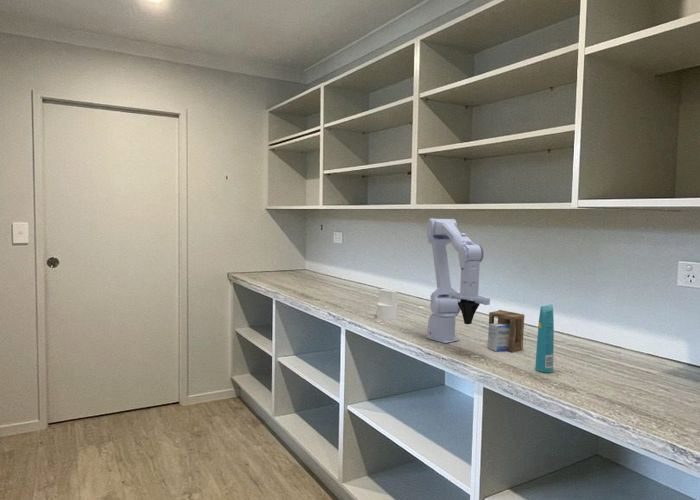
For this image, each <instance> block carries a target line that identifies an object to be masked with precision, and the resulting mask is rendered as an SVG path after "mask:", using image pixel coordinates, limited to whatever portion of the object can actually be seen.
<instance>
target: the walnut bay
mask: <svg viewBox="0 0 700 500" xmlns="http://www.w3.org/2000/svg"><path fill="white" fill-rule="evenodd" d="M495 317H496V318H497V323H510V336H509V350H508V352H509V353H515V352H519V351H522V350H524V331H525V330H524V329H525V314H524V313H518V312H513V311H507V310H503V309H498V310H495V311H490V312H489V313H488V325H489V324H495ZM515 325H516V332H515ZM488 336H489V332H488V334H487V337H488Z"/></svg>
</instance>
